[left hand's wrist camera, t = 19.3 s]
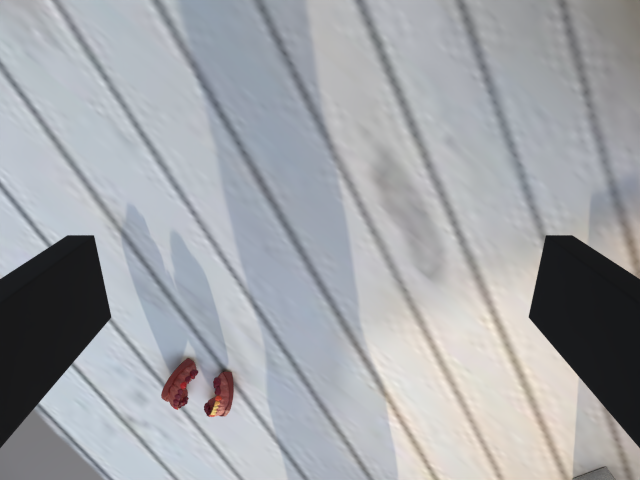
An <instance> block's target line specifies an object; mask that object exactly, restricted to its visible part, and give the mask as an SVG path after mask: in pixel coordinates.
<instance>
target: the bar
mask: <svg viewBox="0 0 640 480" xmlns="http://www.w3.org/2000/svg"><path fill="white" fill-rule="evenodd" d="M573 480H615V478H614V477H613V476H612V474H611V473H610V472H609V470H608V469H607V467H603V468H601V469H598V470H595V471H593V472H590V473H587V474H584V475H582V476H579V477H576V478H573Z"/></svg>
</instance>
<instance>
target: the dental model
mask: <svg viewBox="0 0 640 480" xmlns="http://www.w3.org/2000/svg"><path fill="white" fill-rule="evenodd" d="M197 373H198V371H197V370H196V366H195V363H194V361H192V360H190V359H189V358H187V359H186V360H185V361H184V362H183V363H181V364H180V365H179V367H178V368H177V369H176V370H175V371H174V372H173V374H172V375H171V376H170V378H169V379H168V381H167V382H166V384H165V386H164V388H163V391H162V395H161V396H162V399H163V400H165V401H167V402H168V401H169V402H170V404H171V406H172V407H173V408H174V409H177V410H178V408H181V407H182V406H185V404H187V402H188V399H189V398H188V397H187V396H188V392H187V389H186V385H187V384H188V383H189V382H190V381H191V379H195V376H196V375H197ZM213 383H214V388H216V389H215V390H216V391H215V394H216V395H217V396H216V397H214V398H212V399H210V400H208V403H206V404H205V406H204V410H205V412H206V414H207V416H209V417H214V416H218V415H219V416H226V415H227V414H228V413H229V411H230V409H231V405H232V400H233V377H232V372H223V373H221V374H220V375H219V376H218V377H216V378H215V379H214V381H213Z"/></svg>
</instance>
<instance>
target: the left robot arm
mask: <svg viewBox="0 0 640 480" xmlns="http://www.w3.org/2000/svg"><path fill="white" fill-rule="evenodd" d="M110 318H111V313H110V309H109V304H108V299H107V295H106V290H105V285H104V280H103V276H102V271H101V266H100V261H99V257H98V252H97V247H96V243H95V238H94V235H68V236H66V237H64V238H63V239H61V240H60V241H58V242H57V243H55V244H54V245H52V246H51V247H49V248H48V249H46V250H44V251H43V252H41V253H40V254H38V255H37V256H35V257H34V258H32V259H31V260H29V261H28V262H26V263H24V264H23V265H21V266H20V267H18V268H17V269H15V270H14V271H12V272H11V273H9V274H8V275H6V276H4V277H3V278H1V279H0V448H1V447H2V445H3V444H4V443H5V442H6V441H7V439H8V438H9V437H10V436H11V435H12V434H13V432H14V431H15V430H16V429H17V428H18V427H19V425H20V424H21V423H22V422H23V421H24V419H25V418H26V417H27V416H28V415H29V414H30V412H31V411H32V410H33V409H34V408H35V407H36V405H37V404H38V403H39V402H40V401H41V399H42V398H43V397H44V396H45V395H46V394H47V392H48V391H49V390H50V389H51V388H52V387H53V385H54V384H55V383H56V382H57V381H58V379H59V378H60V377H61V376H62V375H63V374H64V372H65V371H66V370H67V369H68V368H69V367H70V365H71V364H72V363H73V362H74V361H75V359H76V358H77V357H78V356H79V355H80V354H81V352H82V351H83V350H84V349H85V348H86V346H87V345H88V344H89V343H90V342H91V341H92V339H93V338H94V337H95V336H96V335H97V334H98V332H99V331H100V330H101V329H102V328H103V326H104V325H105V324H106V323H107V322H108V321H109V319H110ZM529 318H530V319H531V321H532V322H533V323H534V324H535V325H536V326H537V328H538V329H539V330H540V331H541V332H542V334H543V335H544V336H545V337H546V338H547V339H548V341H549V342H550V343H551V344H552V345H553V346H554V348H555V349H556V350H557V351H558V352H559V354H560V355H561V356H562V357H563V358H564V359H565V361H566V362H567V363H568V364H569V365H570V367H571V368H572V369H573V370H574V371H575V372H576V374H577V375H578V376H579V377H580V378H581V379H582V381H583V382H584V383H585V384H586V385H587V387H588V388H589V389H590V390H591V391H592V392H593V394H594V395H595V396H596V397H597V398H598V399H599V401H600V402H601V403H602V404H603V405H604V407H605V408H606V409H607V410H608V411H609V412H610V414H611V415H612V416H613V417H614V418H615V419H616V421H617V422H618V423H619V424H620V425H621V427H622V428H623V429H624V430H625V431H626V432H627V434H628V435H629V436H630V437H631V438H632V440H633V441H634V442H635V443H636V444H637V445H638V447H639V448H640V279H639V278H637V277H636V276H634V275H632V274H631V273H629V272H628V271H626V270H625V269H623V268H622V267H620V266H619V265H617V264H616V263H614V262H612V261H611V260H609V259H608V258H606V257H605V256H603V255H602V254H600V253H599V252H597V251H596V250H594V249H592V248H591V247H589V246H588V245H586V244H585V243H583V242H582V241H580V240H579V239H577V238H575V237H574V236H572V235H546V238H545V243H544V247H543V252H542V257H541V261H540V266H539V271H538V276H537V280H536V285H535V290H534V295H533V299H532V304H531V309H530V313H529Z"/></svg>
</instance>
